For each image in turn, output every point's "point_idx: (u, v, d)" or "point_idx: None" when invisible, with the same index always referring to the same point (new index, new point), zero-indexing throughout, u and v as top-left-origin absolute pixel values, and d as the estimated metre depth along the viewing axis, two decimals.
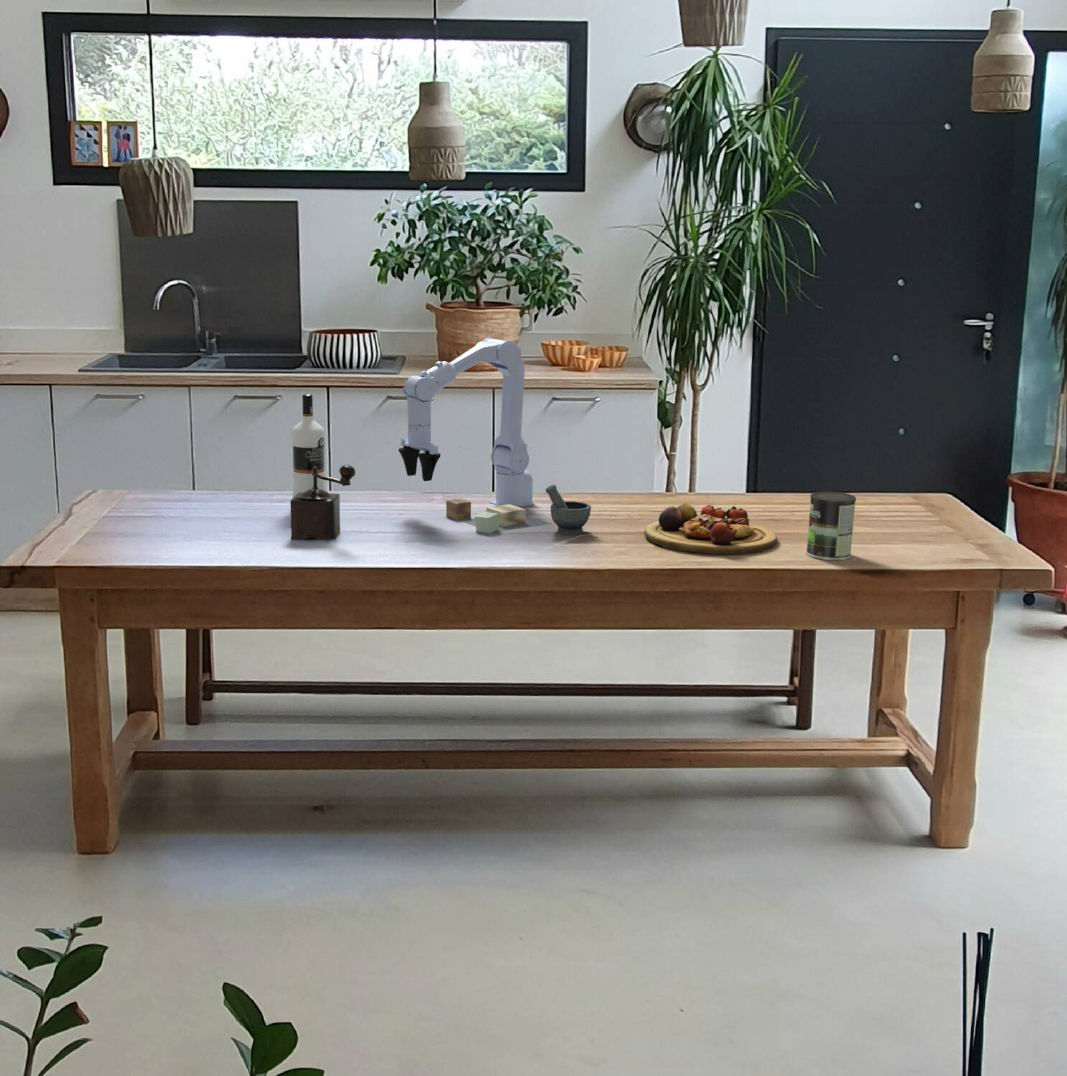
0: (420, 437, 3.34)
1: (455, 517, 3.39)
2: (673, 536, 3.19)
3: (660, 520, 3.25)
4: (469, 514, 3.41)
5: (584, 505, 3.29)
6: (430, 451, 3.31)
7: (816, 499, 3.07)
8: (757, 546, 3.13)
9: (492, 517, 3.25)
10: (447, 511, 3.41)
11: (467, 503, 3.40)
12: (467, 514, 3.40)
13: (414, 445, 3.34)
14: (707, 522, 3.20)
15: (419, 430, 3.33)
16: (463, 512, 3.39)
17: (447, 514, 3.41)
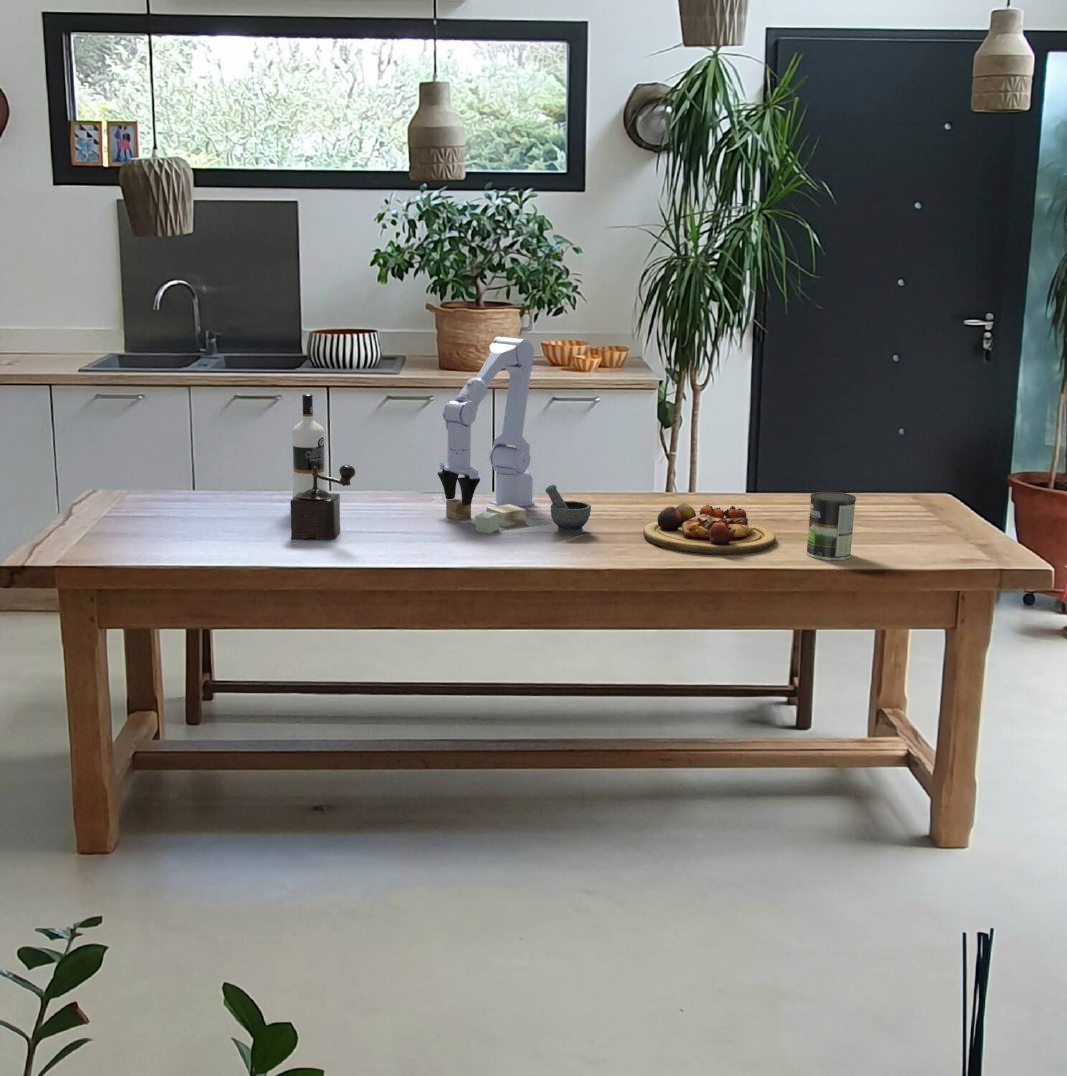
0: (460, 462, 3.35)
1: (455, 517, 3.39)
2: (672, 536, 3.19)
3: (659, 520, 3.25)
4: (469, 514, 3.41)
5: (584, 505, 3.29)
6: (470, 476, 3.33)
7: (816, 499, 3.07)
8: (756, 546, 3.13)
9: (492, 517, 3.25)
10: (447, 511, 3.41)
11: None
12: (467, 514, 3.40)
13: (454, 469, 3.35)
14: (706, 522, 3.20)
15: (459, 454, 3.35)
16: (463, 512, 3.39)
17: (447, 514, 3.41)
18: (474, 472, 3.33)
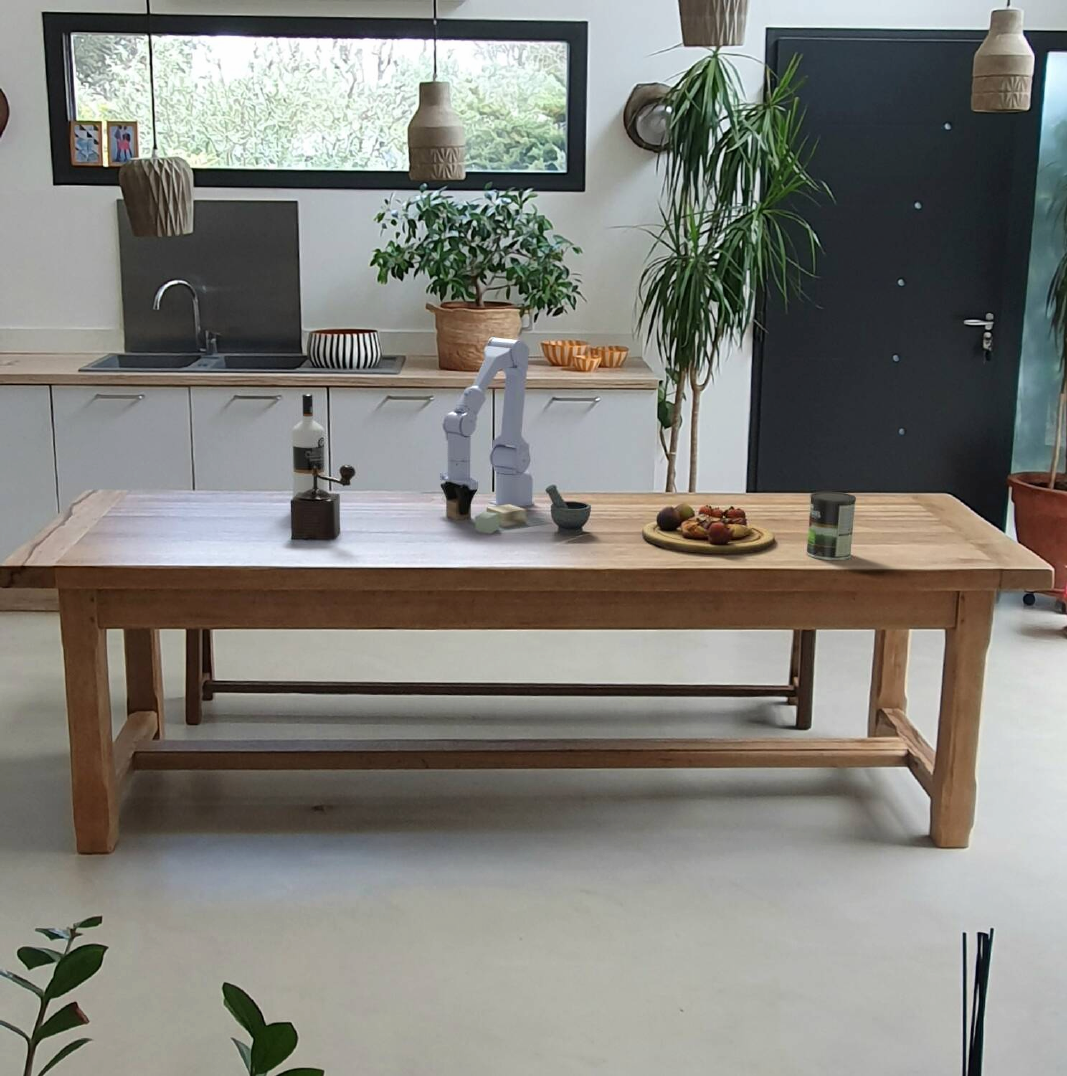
0: (460, 473, 3.36)
1: (455, 517, 3.39)
2: (670, 536, 3.19)
3: (658, 520, 3.25)
4: (469, 514, 3.41)
5: (584, 505, 3.29)
6: (470, 486, 3.33)
7: (816, 499, 3.07)
8: (754, 546, 3.13)
9: (492, 517, 3.25)
10: (447, 511, 3.41)
11: None
12: (467, 514, 3.40)
13: (454, 480, 3.36)
14: (705, 522, 3.20)
15: (459, 465, 3.35)
16: None
17: (447, 514, 3.41)
18: (474, 483, 3.33)
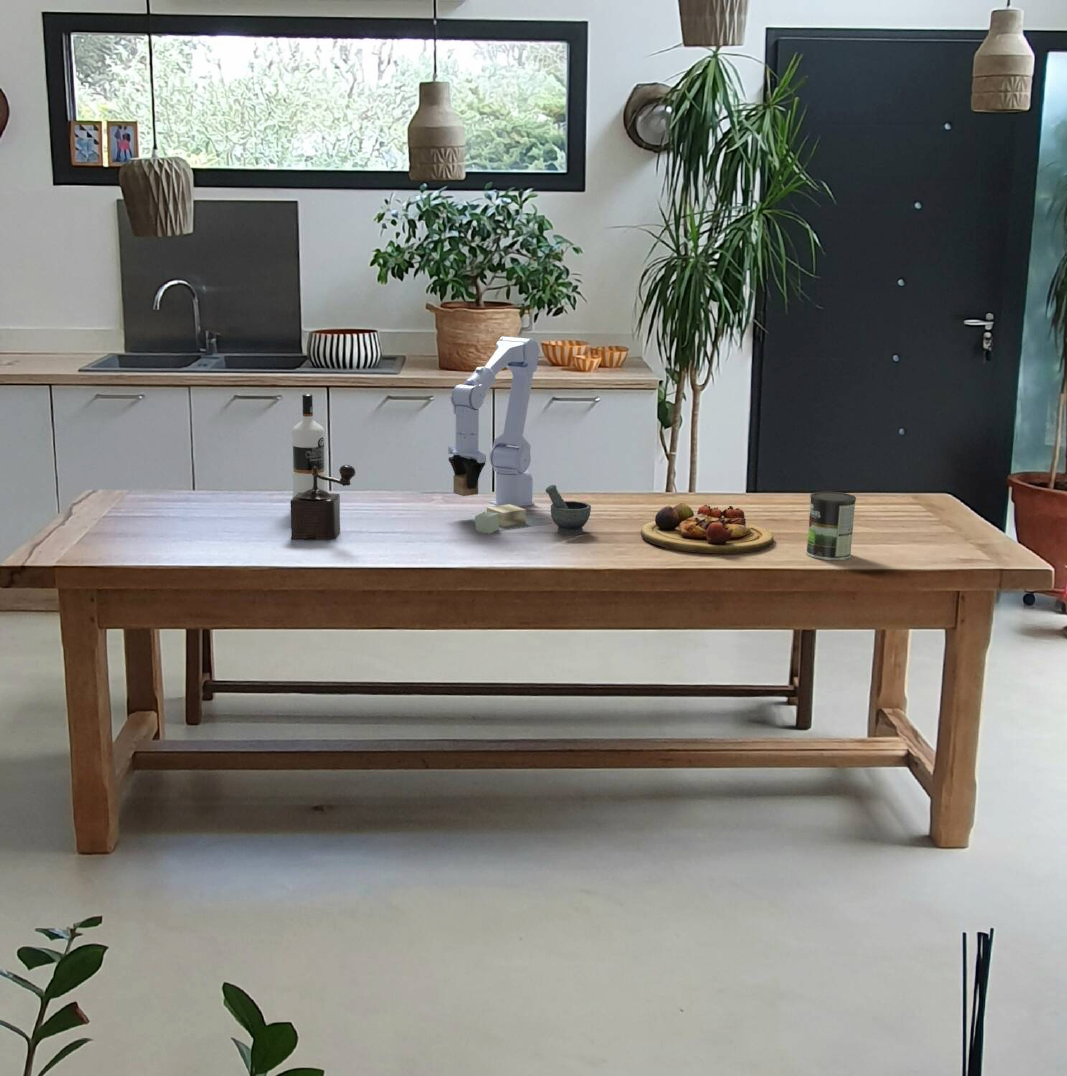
0: (468, 446, 3.34)
1: (462, 492, 3.36)
2: (669, 536, 3.19)
3: (656, 520, 3.25)
4: (476, 489, 3.38)
5: (584, 505, 3.29)
6: (478, 460, 3.31)
7: (816, 499, 3.07)
8: (753, 545, 3.13)
9: (492, 517, 3.25)
10: (454, 486, 3.39)
11: None
12: (474, 489, 3.38)
13: (462, 453, 3.34)
14: (703, 522, 3.20)
15: (467, 438, 3.33)
16: None
17: (454, 489, 3.39)
18: (482, 456, 3.31)
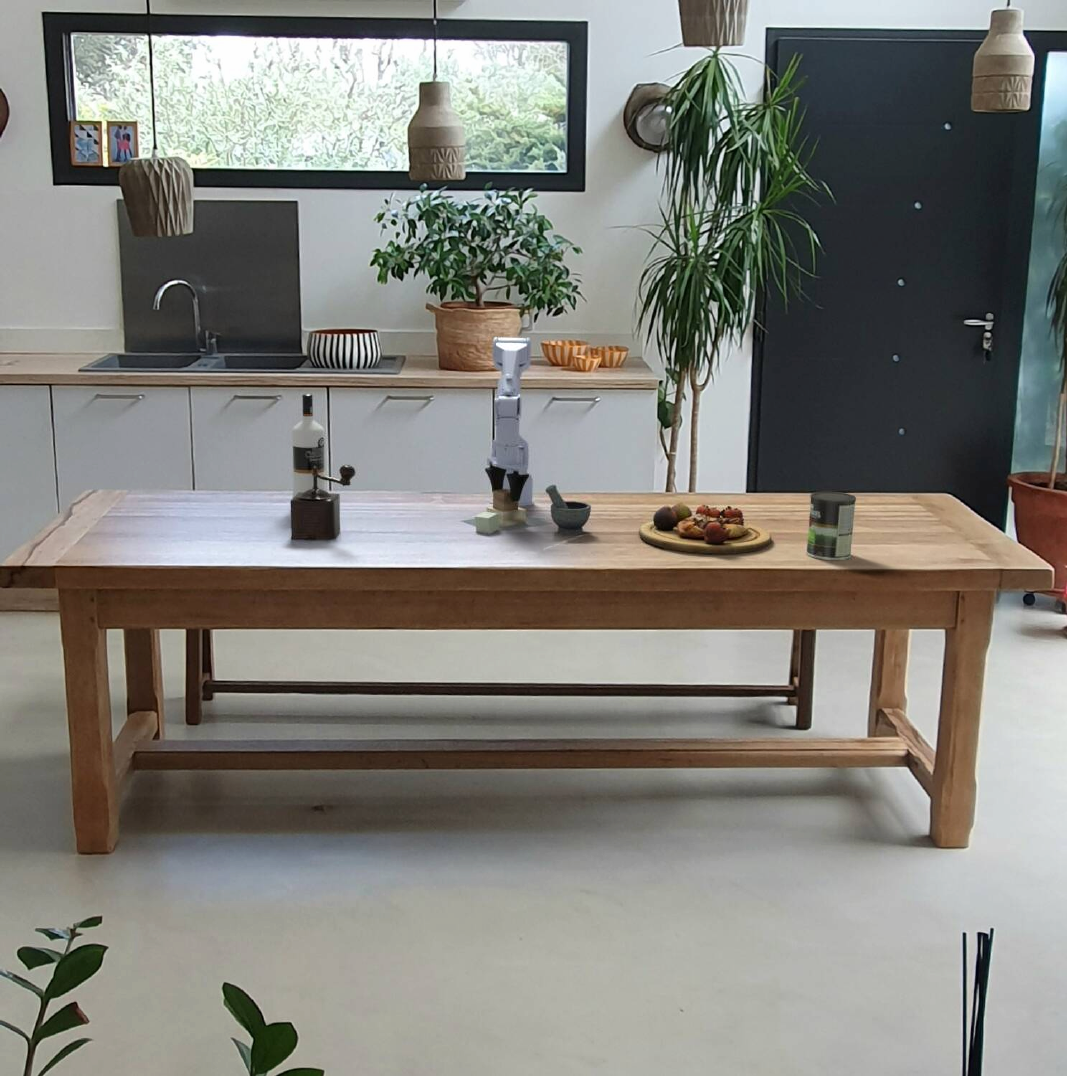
0: (509, 457, 3.30)
1: (503, 507, 3.33)
2: (667, 536, 3.19)
3: (654, 520, 3.25)
4: (516, 504, 3.35)
5: (584, 505, 3.29)
6: (519, 471, 3.28)
7: (816, 499, 3.07)
8: (751, 546, 3.13)
9: (492, 517, 3.25)
10: (494, 501, 3.36)
11: None
12: (514, 504, 3.35)
13: (502, 465, 3.30)
14: (701, 522, 3.20)
15: (508, 450, 3.30)
16: (510, 502, 3.34)
17: (494, 504, 3.36)
18: (523, 468, 3.28)
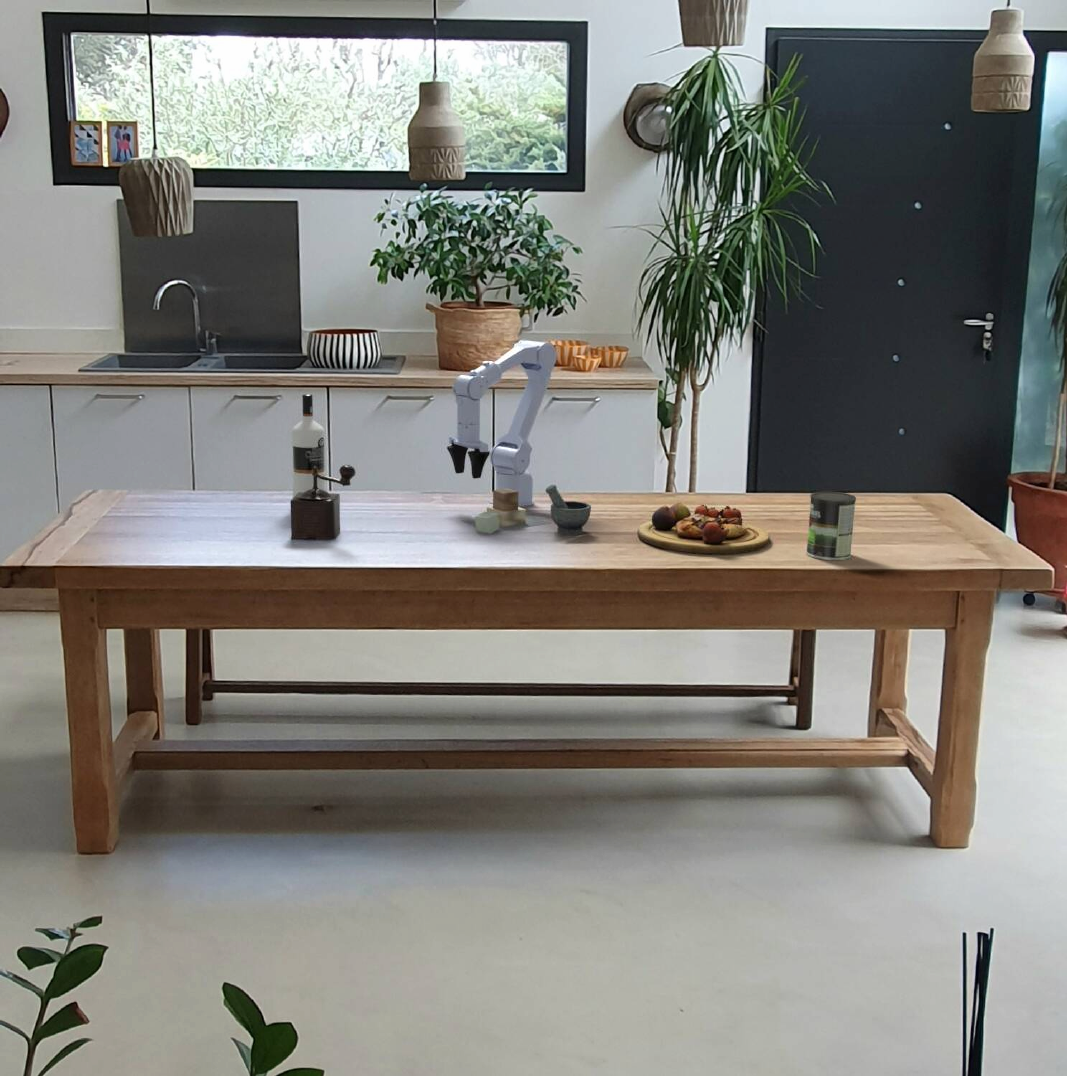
0: (470, 435, 3.39)
1: (503, 507, 3.33)
2: (665, 535, 3.19)
3: (653, 519, 3.25)
4: (516, 504, 3.35)
5: (584, 505, 3.29)
6: (480, 449, 3.37)
7: (816, 499, 3.07)
8: (749, 546, 3.13)
9: (492, 517, 3.25)
10: (494, 501, 3.36)
11: (515, 493, 3.34)
12: (514, 504, 3.35)
13: (464, 443, 3.40)
14: (699, 522, 3.20)
15: (469, 428, 3.39)
16: (510, 502, 3.34)
17: (494, 504, 3.36)
18: (484, 445, 3.37)
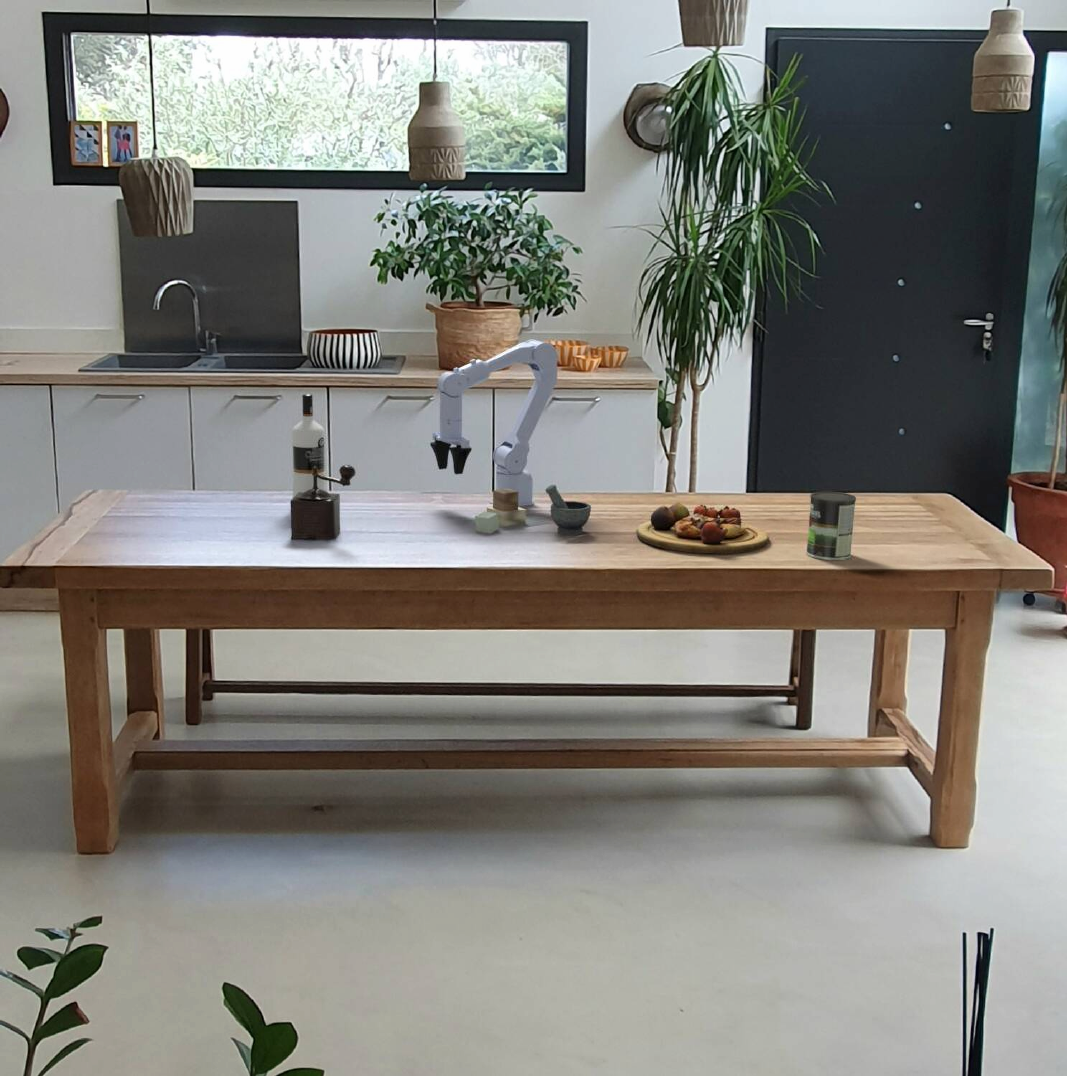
0: (452, 432, 3.44)
1: (503, 507, 3.33)
2: (664, 535, 3.19)
3: (652, 519, 3.25)
4: (516, 504, 3.35)
5: (584, 505, 3.29)
6: (462, 445, 3.42)
7: (816, 499, 3.07)
8: (748, 545, 3.13)
9: (492, 517, 3.25)
10: (494, 501, 3.36)
11: (515, 493, 3.34)
12: (514, 504, 3.35)
13: (446, 439, 3.44)
14: (698, 522, 3.20)
15: (451, 425, 3.44)
16: (510, 502, 3.34)
17: (494, 504, 3.36)
18: (465, 442, 3.41)
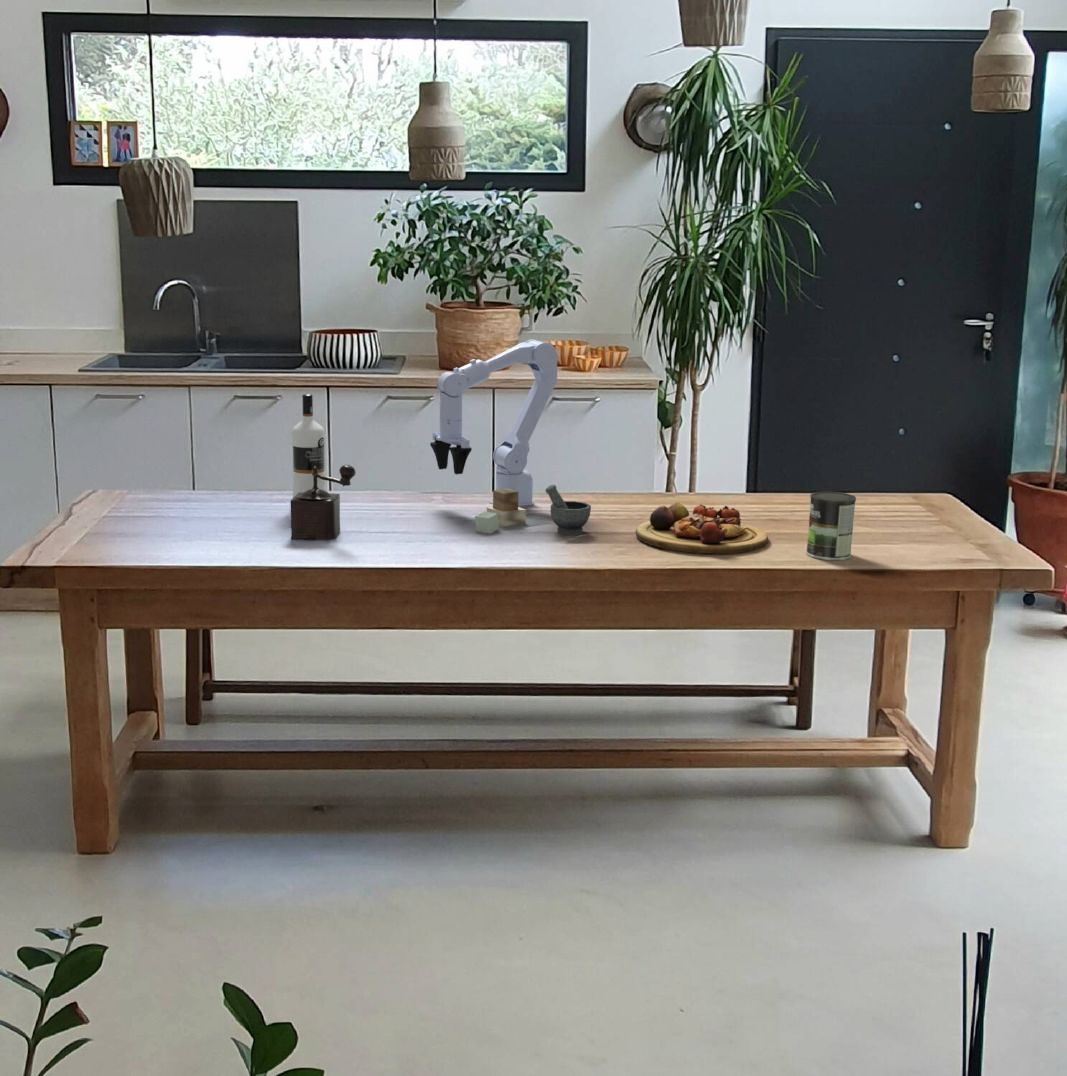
0: (452, 432, 3.44)
1: (503, 507, 3.33)
2: (663, 535, 3.19)
3: (651, 519, 3.25)
4: (516, 504, 3.35)
5: (584, 505, 3.29)
6: (462, 445, 3.42)
7: (816, 499, 3.07)
8: (747, 545, 3.13)
9: (492, 517, 3.25)
10: (494, 501, 3.36)
11: (515, 493, 3.34)
12: (514, 504, 3.35)
13: (446, 439, 3.44)
14: (698, 522, 3.20)
15: (451, 425, 3.44)
16: (510, 502, 3.34)
17: (494, 504, 3.36)
18: (465, 442, 3.41)
